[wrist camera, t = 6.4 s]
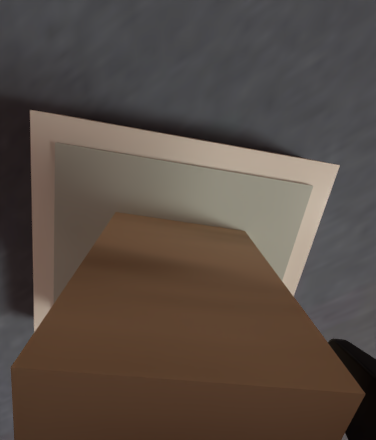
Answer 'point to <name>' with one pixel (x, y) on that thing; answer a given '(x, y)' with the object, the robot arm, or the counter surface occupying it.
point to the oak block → (178, 346)
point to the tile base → (162, 194)
